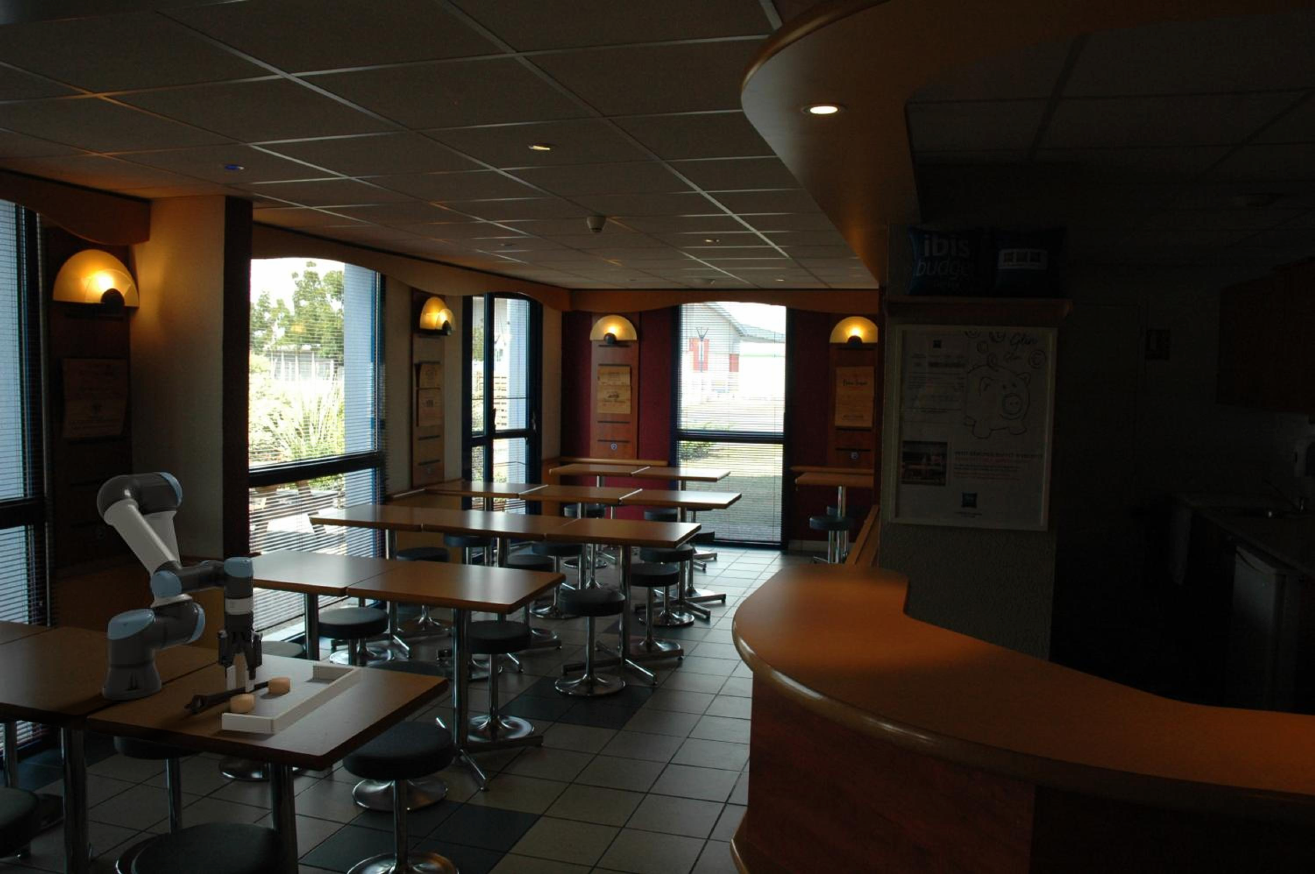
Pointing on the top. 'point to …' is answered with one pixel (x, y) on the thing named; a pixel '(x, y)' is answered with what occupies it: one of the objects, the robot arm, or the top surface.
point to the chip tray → (274, 725)
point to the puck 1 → (242, 703)
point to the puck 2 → (279, 686)
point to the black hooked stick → (218, 697)
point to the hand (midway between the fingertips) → (240, 689)
